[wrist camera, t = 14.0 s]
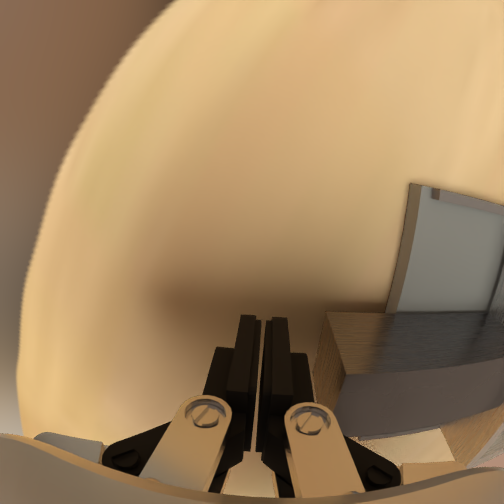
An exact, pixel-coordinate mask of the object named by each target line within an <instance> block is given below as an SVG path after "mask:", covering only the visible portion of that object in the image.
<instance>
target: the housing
mask: <svg viewBox="0 0 504 504" xmlns="http://www.w3.org/2000/svg"><path fill="white" fill-rule="evenodd" d="M312 373H313V379H314V385H315V392H316V398H317V404H321V405H323V406H325V407H327V408H328V409H329V410H331V411H332V412H333V414H334V416H335V417H336V420H337V422H338V425H339V427H340V429H341V432H342V434H343V435H345V436H347V437H357V436H368V435H377V434H386V433H393V432H400V431H406V430H412V429H417V428H423V427H428V426H432V425H437V424H438V425H439V427H440V429H441V431H442V433H443V435H444V437H445V439H446V442H447V444H448V446H449V448H450V450H451V452H452V454H453V457H454V459H455V461H456V462H459V463H461V464H463V465H464V466H465V467H466V468H467V469H470V468H473V467H475V466H477V465H479V464H482V463H484V462H486V461H489V460H491V459H493V458H495V457H497V456H499V455H501V454H503V453H504V265H503V269H502V272H501V276H500V279H499V283H498V286H497V289H496V292H495V295H494V298H493V301H492V304H491V307H490V310H489V312H487V313H451V314H397V313H358V312H334V311H326V313H325V318H324V323H323V328H322V333H321V337H320V342H319V346H318V351H317V355H316V359H315V363H314V368H313V372H312Z"/></svg>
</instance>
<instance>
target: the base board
mask: <svg viewBox="0 0 504 504" xmlns="http://www.w3.org/2000/svg"><path fill="white" fill-rule="evenodd" d="M503 265H504V206H502V205H498V204H495V203H491V202H488V201H484V200H480V199H477V198H473V197H469V196H465V195H461V194H457V193H453V192H449V191H444V190H440V189H436V188H431V187H426V186H422V185H417V184H412V183H410V189H409V197H408V205H407V211H406V218H405V224H404V230H403V236H402V241H401V246H400V252H399V256H398V261H397V266H396V270H395V275H394V279H393V283H392V287H391V291H390V295H389V299H388V303H387V307H386V310H385V313H397V314H451V313H487V312H489V310H490V307H491V304H492V301H493V298H494V295H495V292H496V289H497V286H498V283H499V279H500V276H501V272H502V269H503ZM437 428H440V427H439V425H438V424H437V425H432V426H428V427H423V428H417V429H412V430H406V431H400V432H393V433H386V434H377V435H368V436H358V439H359V441H362V440H372V439H380V438H388V437H395V436H401V435H407V434H413V433H418V432H423V431H428V430H432V429H437Z"/></svg>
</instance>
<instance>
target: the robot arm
mask: <svg viewBox="0 0 504 504" xmlns="http://www.w3.org/2000/svg"><path fill="white" fill-rule="evenodd" d="M260 335H261V320H256V316H254V315H242V314H241V318H240V323H239V328H238V333H237V338H236V343H235V349H234V348H224V347H216V349H215V353H214V356H213V360H212V363H211V367H210V370H209V374H208V377H207V381H206V384H205V388H204V391H203V395H199V396H195V397H192V398H189V399H188V400H186V401H185V402H184V403H183V404H182V405H181V406H180V408H179V410H178V411H177V413H176V415H175V417H174V418H173V420H172V421H171V422H168V423H166V424H163V425H161V426H158V427H156V428H153V429H151V430H148V431H146V432H143V433H140V434H138V435H135V436H132V437H130V438H127V439H124V440H121V441H118V442H116V443H114V444H112V445H110V446H107V445H103V443H102V442H99V441H92V440H86V439H80V438H75V437H70V436H65V435H60V434H56V433H51V432H44V433H41V434H39V435H37V436H36V437H34V439H32V438H28V437H24V436H19V435H13V434H3V433H0V504H504V468H501V467H479V468H471V469H467V468H466V467H465V466H464V465H463V464H461V463H459V462H456V461H447V462H431V463H403V464H402V465H401V466H396V465H395V464H393V463H392V462H391V461H389V460H387V459H385V458H383V457H382V456H380V455H378V454H376V453H374V452H372V451H371V450H369V449H367V448H365V447H364V446H362V445H360V444H358V443H357V442H355V441H353V440H352V439H350V438H348V437H347V436H345V435H343V434H342V432H341V429H340V427H339V425H338V422H337V420H336V417H335V416H334V414H333V412H332V411H331V410H329V409H328V408H327V407H325V406H323V405H321V404H317V403H314V397H313V390H312V383H311V377H310V370H309V364H308V358H307V354H306V353H290V343H289V332H288V320H287V318H282V317H272V321H269V320H266V327H265V337H264V347H263V357H262V367H261V377H260V391H259V407H258V422H257V437H256V452H262V456H261V461H263V463H264V464H265V465H266V466H268V467H269V468H270V469H271V470H272V479H273V485H274V491H275V497H276V498H264V497H247V496H235V495H226V494H223V491H224V489H225V486H226V483H227V480H228V477H229V475H230V471H231V467H233V466H235V465H236V464H238V463H240V462H241V461H242V459H243V453H244V451H250V449H251V440H252V431H253V421H254V412H255V402H256V392H257V378H258V364H259V350H260Z"/></svg>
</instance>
